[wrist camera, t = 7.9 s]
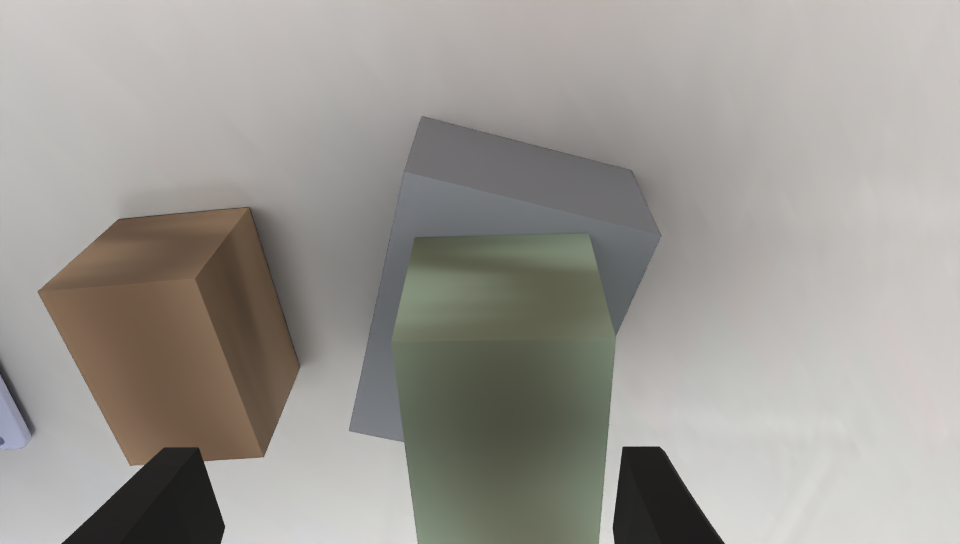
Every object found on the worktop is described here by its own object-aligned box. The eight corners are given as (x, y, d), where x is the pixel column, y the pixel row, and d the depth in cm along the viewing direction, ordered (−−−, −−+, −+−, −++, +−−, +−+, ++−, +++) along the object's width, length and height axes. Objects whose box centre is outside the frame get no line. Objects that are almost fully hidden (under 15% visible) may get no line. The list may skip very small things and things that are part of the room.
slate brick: (371, 344, 22) (348, 430, 18) (422, 115, 18) (404, 171, 14) (545, 382, 23) (553, 472, 19) (631, 169, 19) (661, 235, 15)
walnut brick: (186, 376, 23) (130, 465, 19) (118, 219, 20) (37, 291, 16) (299, 368, 22) (263, 457, 19) (248, 207, 19) (194, 278, 16)
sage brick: (433, 428, 18) (419, 555, 15) (414, 237, 15) (391, 341, 12) (578, 426, 18) (597, 554, 15) (588, 233, 15) (615, 338, 12)
